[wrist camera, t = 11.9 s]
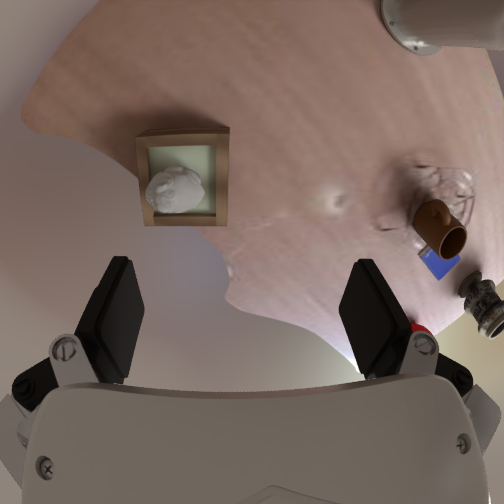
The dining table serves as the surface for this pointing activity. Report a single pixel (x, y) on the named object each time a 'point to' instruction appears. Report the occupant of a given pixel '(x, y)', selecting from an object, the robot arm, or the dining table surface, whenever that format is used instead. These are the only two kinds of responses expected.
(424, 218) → the mug
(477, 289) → the apothecary jar
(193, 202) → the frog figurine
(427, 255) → the hard drive
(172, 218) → the pedestal
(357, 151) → the dining table surface
